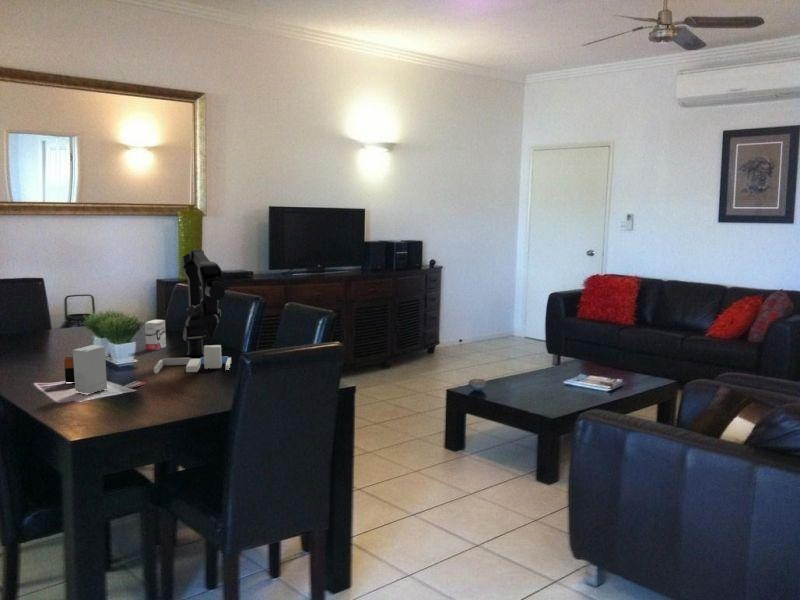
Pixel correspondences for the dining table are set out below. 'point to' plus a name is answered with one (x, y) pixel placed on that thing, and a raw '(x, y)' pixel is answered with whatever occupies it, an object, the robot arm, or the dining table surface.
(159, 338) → the ink box
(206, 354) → the plug block
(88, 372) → the skincare box
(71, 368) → the battery
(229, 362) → the duct rack
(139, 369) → the dining table surface
